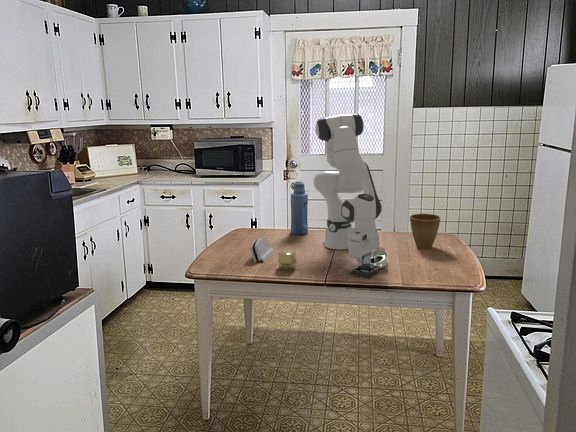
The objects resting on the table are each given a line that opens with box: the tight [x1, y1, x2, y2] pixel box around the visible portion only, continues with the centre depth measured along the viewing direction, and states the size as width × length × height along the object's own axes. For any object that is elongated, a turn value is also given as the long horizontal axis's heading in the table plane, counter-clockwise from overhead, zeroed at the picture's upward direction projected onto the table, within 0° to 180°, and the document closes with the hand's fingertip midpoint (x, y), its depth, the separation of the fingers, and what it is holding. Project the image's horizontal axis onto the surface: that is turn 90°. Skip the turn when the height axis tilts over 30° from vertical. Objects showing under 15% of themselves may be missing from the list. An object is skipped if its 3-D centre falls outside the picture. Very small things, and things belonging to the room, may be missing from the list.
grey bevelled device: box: [249, 237, 275, 263], centre depth 237 cm, size 17×5×10 cm, turn 164°
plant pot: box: [409, 213, 441, 250], centre depth 247 cm, size 15×15×16 cm
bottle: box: [290, 180, 309, 236], centre depth 275 cm, size 10×10×30 cm
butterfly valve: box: [370, 246, 388, 270], centre depth 220 cm, size 9×20×17 cm
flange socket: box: [349, 266, 380, 280], centre depth 212 cm, size 9×9×2 cm
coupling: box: [357, 254, 371, 270], centre depth 211 cm, size 6×6×6 cm
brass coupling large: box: [277, 250, 297, 272], centre depth 220 cm, size 8×8×7 cm
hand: (364, 263), depth 211 cm, fingers closed on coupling, 5 cm apart
